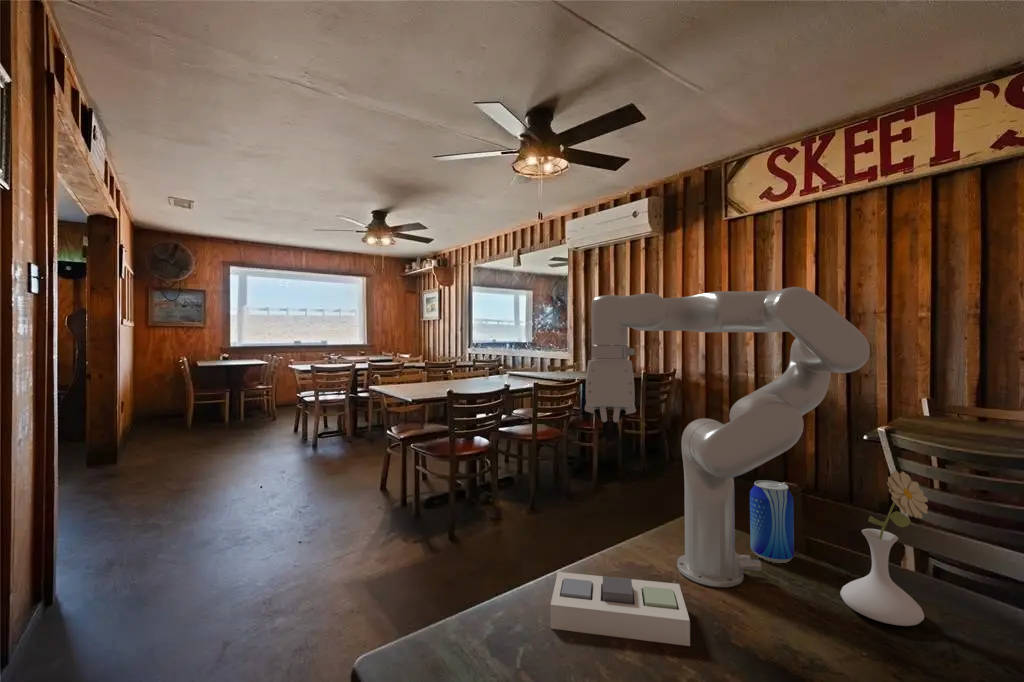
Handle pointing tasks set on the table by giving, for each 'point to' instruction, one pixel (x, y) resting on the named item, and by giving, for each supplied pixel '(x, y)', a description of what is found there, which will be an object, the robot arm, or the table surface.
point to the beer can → (772, 521)
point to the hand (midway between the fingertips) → (610, 439)
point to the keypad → (620, 613)
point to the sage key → (659, 597)
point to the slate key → (577, 589)
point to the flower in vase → (877, 589)
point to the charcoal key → (617, 590)
